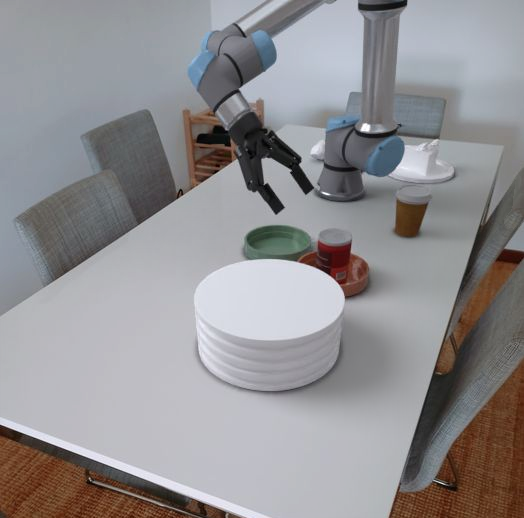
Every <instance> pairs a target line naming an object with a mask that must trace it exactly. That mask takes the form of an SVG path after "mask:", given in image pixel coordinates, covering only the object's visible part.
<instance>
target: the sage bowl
mask: <svg viewBox="0 0 524 518" xmlns="http://www.w3.org/2000/svg"><path fill="white" fill-rule="evenodd" d="M243 239H244V241H243V242H244V254H245V256H246V257H247V258H248V259H249V260H258V259H278V260H288V261H294V262H297V261H298V259H299V258H300V257H301V256H303V255H305V254H307V253H310V252H312V238H311V236H310V234H309V233H308V232H307V231H305V230H303V229H301V228H300V227H299V228H298V227H296V226H291V225H286V224H267V225H262V226H259V227H255V228H253V229H251V230H249V231H248V232H247V233H246V234H245V235H244V237H243Z"/></svg>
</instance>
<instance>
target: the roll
mask: <svg viewBox="0 0 524 518" xmlns="http://www.w3.org/2000/svg"><path fill="white" fill-rule="evenodd" d="M324 151H325V139H321V140H319V141H318V142H316V144H315V145H314V146H312V148H311V150H310V153H309V154H310V156H311V157H312V158H314V159H316V160H318V161H324Z"/></svg>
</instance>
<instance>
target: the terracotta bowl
mask: <svg viewBox="0 0 524 518" xmlns="http://www.w3.org/2000/svg"><path fill="white" fill-rule="evenodd" d="M316 259H317V250H313V251H311V252H310V253H307V254H305V255H303V256H301V257H300V258H299V259H298V261H297V262H298V263H302V264H306V265H309V266H312V267H314V268H316ZM370 271H371V270H370V266H369V264H368V262H367V261H365V260H364V258H362V257H360V256H359V255H358V254H354V253H352V252H351V254H350V262H349V269H348V277H347V279H346V281H345V282H344V283H342V284H339V285H340V287H341V289H342V290H343V293H344V296H345V298H346V297H351V296H354V295H357V294H359V293H361V292H362V291H363V290H365V289H366V288H367V286H368V283H369V278H370V277H369V276H370Z"/></svg>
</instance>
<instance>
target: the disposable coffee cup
mask: <svg viewBox="0 0 524 518" xmlns="http://www.w3.org/2000/svg"><path fill="white" fill-rule="evenodd" d="M395 198H396V202H395V203H396V204H395V223H394V224H395V226H394V233H395V234H396V235H398V236H400V237H404V238H414V237H417V236H418V235H419V232H420V229H421V227H422V223H423V221H424V218H425V215H426V212H427V209H428V206H429V203H430V202H431V200H432V198H433V195H432V190H431V189H430V188H428V187H427V186H424V185H420V184H412V183H411V184H403V185H400V186H398V188H397V190H396V191H395Z"/></svg>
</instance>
